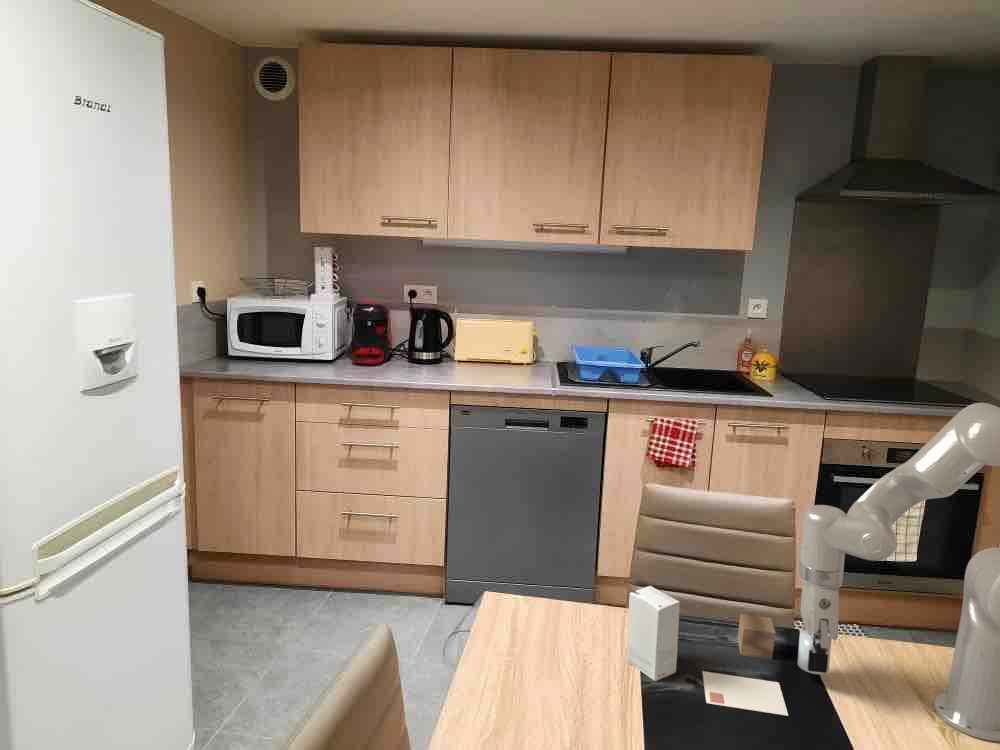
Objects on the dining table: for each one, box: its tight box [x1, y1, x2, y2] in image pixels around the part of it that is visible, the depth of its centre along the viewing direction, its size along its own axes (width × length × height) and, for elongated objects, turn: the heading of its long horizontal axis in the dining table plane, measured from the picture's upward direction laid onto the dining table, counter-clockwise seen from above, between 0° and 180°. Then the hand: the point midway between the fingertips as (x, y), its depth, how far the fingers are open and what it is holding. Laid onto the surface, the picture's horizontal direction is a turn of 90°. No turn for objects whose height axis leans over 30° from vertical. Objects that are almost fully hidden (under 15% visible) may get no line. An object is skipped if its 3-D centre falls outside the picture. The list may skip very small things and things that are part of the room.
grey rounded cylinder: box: [797, 629, 832, 675], centre depth 142 cm, size 6×6×6 cm
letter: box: [701, 670, 789, 717], centre depth 138 cm, size 14×10×1 cm
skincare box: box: [625, 585, 681, 682], centre depth 144 cm, size 8×6×15 cm
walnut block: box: [737, 613, 776, 660], centre depth 152 cm, size 6×6×6 cm
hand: (813, 661), depth 143 cm, fingers closed on grey rounded cylinder, 5 cm apart
